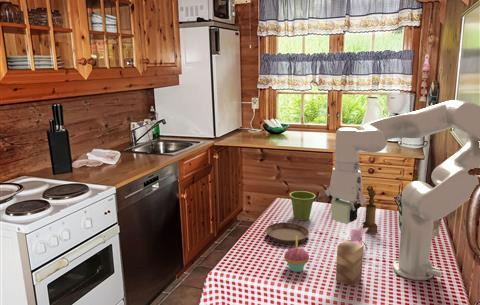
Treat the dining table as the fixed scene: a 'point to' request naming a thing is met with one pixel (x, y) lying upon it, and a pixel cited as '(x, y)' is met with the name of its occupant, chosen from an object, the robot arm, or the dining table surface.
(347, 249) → the tower top
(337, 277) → the tower base
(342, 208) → the sage block
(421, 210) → the robot arm
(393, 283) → the dining table surface
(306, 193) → the plant pot
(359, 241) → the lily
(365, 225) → the brown carved statuette
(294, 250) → the cupcake
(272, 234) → the plant saucer
